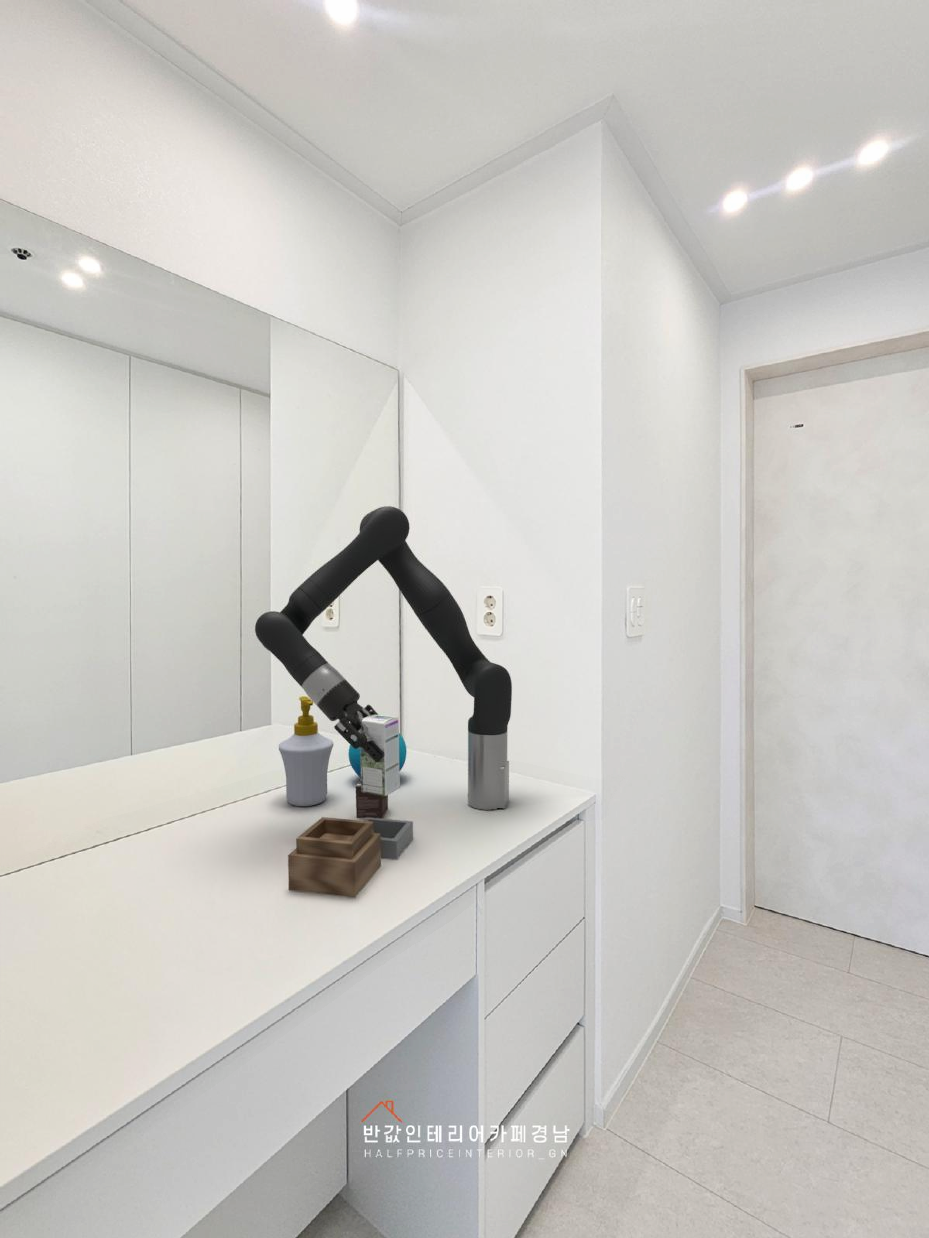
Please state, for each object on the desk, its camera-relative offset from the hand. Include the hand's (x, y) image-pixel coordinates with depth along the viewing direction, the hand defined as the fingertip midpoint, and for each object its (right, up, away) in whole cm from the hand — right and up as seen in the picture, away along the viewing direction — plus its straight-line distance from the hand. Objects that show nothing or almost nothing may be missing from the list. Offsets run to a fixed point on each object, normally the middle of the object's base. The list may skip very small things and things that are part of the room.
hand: (387, 753), depth 122 cm
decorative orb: (-8, -16, +42) cm, 45 cm away
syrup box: (-1, -8, +1) cm, 8 cm away
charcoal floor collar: (-1, -18, +1) cm, 19 cm away
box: (-6, -18, +19) cm, 26 cm away
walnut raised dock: (-8, -19, -12) cm, 24 cm away
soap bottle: (-22, -17, +27) cm, 39 cm away
